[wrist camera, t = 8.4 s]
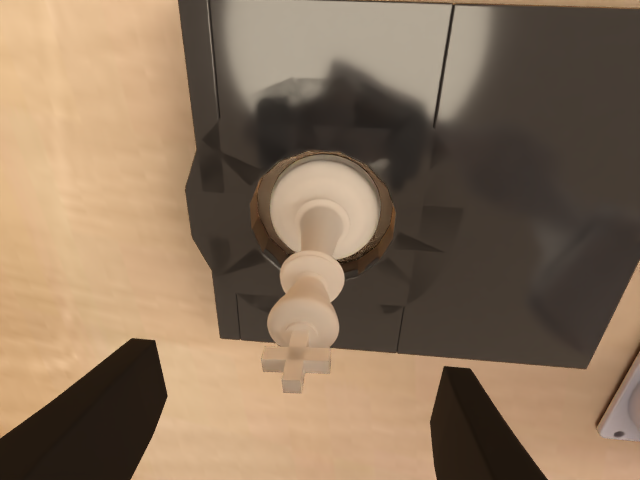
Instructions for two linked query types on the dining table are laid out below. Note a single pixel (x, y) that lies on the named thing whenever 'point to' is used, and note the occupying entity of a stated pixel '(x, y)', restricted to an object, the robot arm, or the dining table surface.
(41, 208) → the dining table surface
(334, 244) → the chess piece
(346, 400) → the dining table surface
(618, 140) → the dark grey flat block
